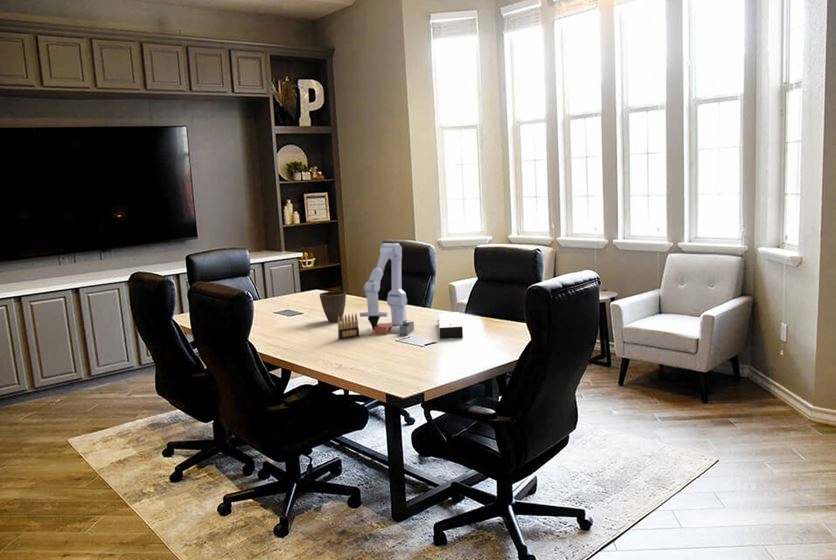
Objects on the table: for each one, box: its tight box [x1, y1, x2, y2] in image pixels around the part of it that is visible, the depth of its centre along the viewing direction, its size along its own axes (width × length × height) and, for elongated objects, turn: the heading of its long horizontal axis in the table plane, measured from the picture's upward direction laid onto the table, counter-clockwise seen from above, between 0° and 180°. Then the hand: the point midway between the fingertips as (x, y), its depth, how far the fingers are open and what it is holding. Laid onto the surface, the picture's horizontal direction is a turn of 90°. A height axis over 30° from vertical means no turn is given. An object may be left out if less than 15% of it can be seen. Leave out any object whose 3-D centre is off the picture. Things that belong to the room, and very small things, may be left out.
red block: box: [373, 322, 393, 335], centre depth 351 cm, size 8×7×4 cm
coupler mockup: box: [389, 319, 415, 337], centre depth 349 cm, size 12×11×6 cm
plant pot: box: [319, 290, 347, 323], centre depth 384 cm, size 15×15×16 cm
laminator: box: [436, 311, 464, 340], centre depth 347 cm, size 34×12×6 cm, turn 179°
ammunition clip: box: [337, 313, 361, 340], centre depth 343 cm, size 11×2×12 cm, turn 112°
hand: (374, 330), depth 353 cm, fingers closed
